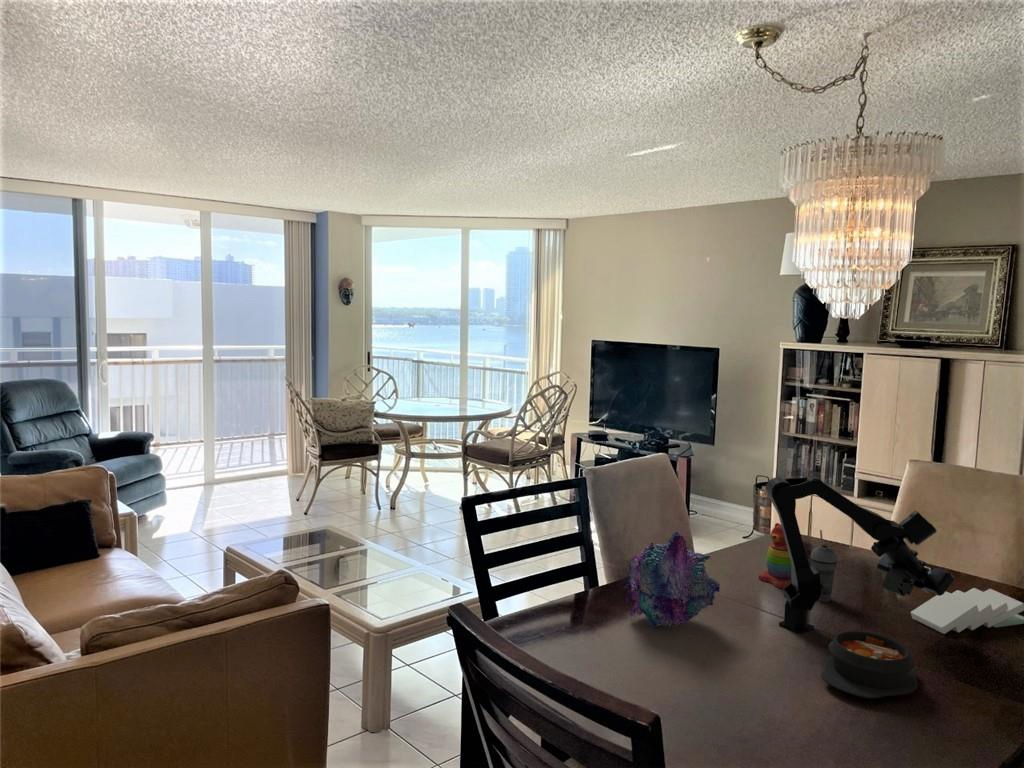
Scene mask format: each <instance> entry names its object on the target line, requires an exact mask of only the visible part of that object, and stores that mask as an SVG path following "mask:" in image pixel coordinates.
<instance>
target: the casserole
mask: <svg viewBox="0 0 1024 768" xmlns="http://www.w3.org/2000/svg"><path fill="white" fill-rule="evenodd" d="M827 646H828V651H829V652H830V654H831V655H830V656H828V657H827V658H826V659H825V660H824V661H823V670H822V671H821V673H820V677H821V679H822V681H823V682H825V683H826V684H828V685H829V686H831V687H833V688H835V689H837V690H839V691H841V692H843V693H847V694H850V695H852V696H856V697H859V698H864V699H868V700H869V699H873V700H874V699H879V698H884V697H891V696H904V695H907V694H911V693H913V692H915V691H916V690H917V689H918V687H919V683H918V679H917V673H918V670H917V668H916V667H915V665H916V663H915V660H914V659H913V657H912V656H911V653H910V650H909V649H908V647H906V646H905V645H904V644H903V643H901V642H899V641H897V640H895V639H892V638H890V637H887V636H885V635H881V634H878V633H873V632H867V631H857V630H848V631H842V632H838V633H837V634H835V635H834V637H833V639H832V641H830V642H829V643H828V645H827Z"/></svg>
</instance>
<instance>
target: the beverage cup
mask: <svg viewBox="0 0 1024 768" xmlns="http://www.w3.org/2000/svg"><path fill="white" fill-rule="evenodd" d="M819 535H820V545H818V546H816V547H814V548H813V550H812V551H811V554H810V557H809V559H810V566H813V567H814V568H815V569H816V570H817V571H818V572H819V574H820V582H821V585H822V586H823V587H824V589H822V588H821V591H822V595H821V597H820V598H819V599H818V600H817V602H825V603H826V602H830V601H831V597H832V591H833V585H834V584H833V583H834V578H835V572H836V568H837V565H838V564H837V563H838V562H839V561H838V557H837V553H836V551H834V549H833V548H832V547H830V546H829V545H825V544H824V541H823V530H822V529H820V530H819Z"/></svg>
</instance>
